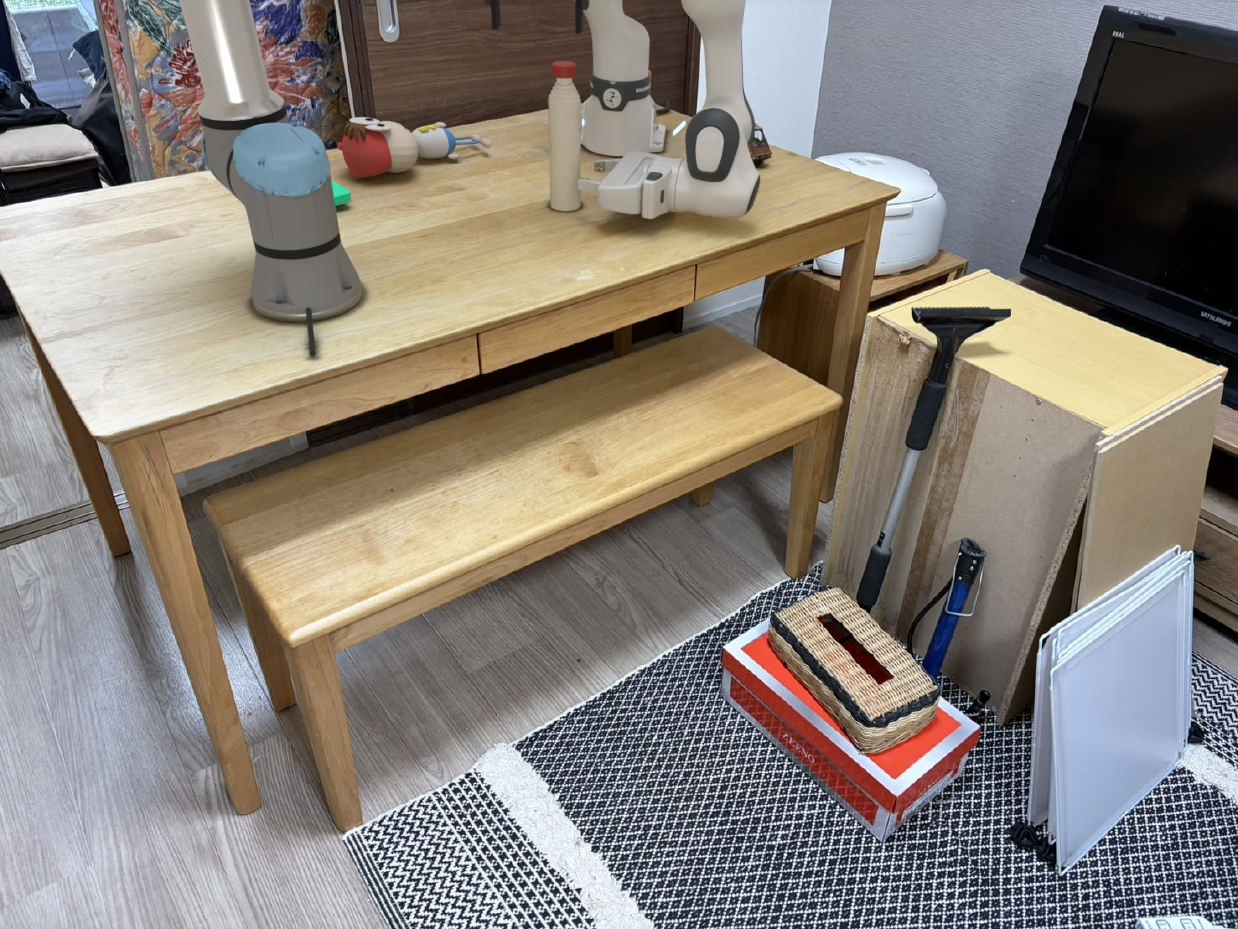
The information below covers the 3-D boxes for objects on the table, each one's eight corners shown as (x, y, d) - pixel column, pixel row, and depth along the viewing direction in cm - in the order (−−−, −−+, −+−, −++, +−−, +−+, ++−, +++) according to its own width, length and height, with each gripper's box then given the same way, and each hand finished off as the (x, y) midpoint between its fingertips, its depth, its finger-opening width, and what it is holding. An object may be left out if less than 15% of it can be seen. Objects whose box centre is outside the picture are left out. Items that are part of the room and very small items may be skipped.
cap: (571, 79, 151) (571, 67, 150) (549, 77, 152) (549, 65, 151) (578, 73, 154) (578, 61, 153) (556, 71, 155) (556, 59, 154)
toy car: (734, 147, 194) (738, 113, 189) (776, 163, 186) (781, 128, 182) (712, 153, 190) (715, 118, 186) (754, 169, 183) (758, 134, 179)
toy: (506, 124, 177) (353, 127, 162) (506, 178, 182) (356, 186, 167) (466, 108, 191) (320, 110, 176) (466, 159, 195) (325, 165, 180)
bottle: (575, 212, 163) (574, 71, 149) (546, 209, 165) (543, 68, 150) (584, 201, 168) (584, 63, 153) (555, 198, 169) (553, 60, 155)
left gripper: (442, -127, 134) (455, 31, 147) (612, -122, 131) (610, 39, 144) (457, -132, 140) (468, 20, 153) (619, -127, 137) (617, 28, 150)
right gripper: (678, 146, 165) (604, 138, 168) (650, 186, 149) (568, 175, 152) (676, 181, 169) (603, 172, 172) (648, 223, 153) (569, 212, 156)
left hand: (537, 29), depth 149 cm, fingers open, 13 cm apart
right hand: (587, 174), depth 162 cm, fingers open, 8 cm apart
